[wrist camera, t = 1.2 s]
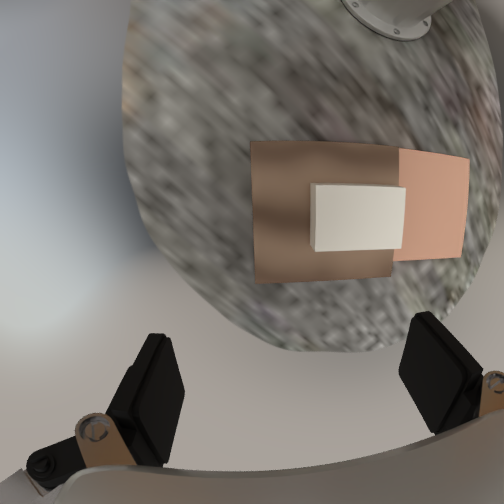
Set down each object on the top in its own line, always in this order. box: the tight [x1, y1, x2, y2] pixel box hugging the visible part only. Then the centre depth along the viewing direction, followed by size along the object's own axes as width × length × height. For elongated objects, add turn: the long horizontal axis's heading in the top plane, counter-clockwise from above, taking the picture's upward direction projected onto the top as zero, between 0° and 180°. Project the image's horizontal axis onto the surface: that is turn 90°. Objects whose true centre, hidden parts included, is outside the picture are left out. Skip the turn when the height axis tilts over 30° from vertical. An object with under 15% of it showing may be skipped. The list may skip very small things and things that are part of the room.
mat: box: [393, 148, 469, 261], centre depth 29 cm, size 13×12×1 cm
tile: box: [310, 183, 406, 252], centre depth 26 cm, size 6×9×2 cm, turn 92°
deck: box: [250, 141, 399, 284], centre depth 28 cm, size 14×15×2 cm
